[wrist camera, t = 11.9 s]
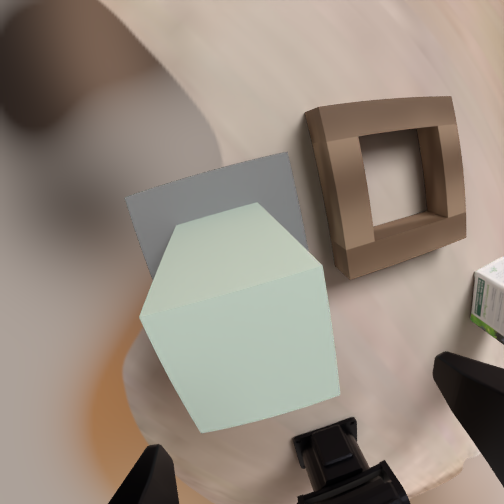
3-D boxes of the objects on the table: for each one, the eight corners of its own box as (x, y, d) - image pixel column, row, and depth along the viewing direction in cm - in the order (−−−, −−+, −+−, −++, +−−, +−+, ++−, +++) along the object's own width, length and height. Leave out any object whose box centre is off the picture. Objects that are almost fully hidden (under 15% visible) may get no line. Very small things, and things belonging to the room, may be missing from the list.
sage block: (275, 277, 20) (340, 394, 10) (200, 298, 20) (201, 433, 9) (257, 202, 18) (322, 265, 8) (176, 225, 18) (139, 317, 8)
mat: (314, 296, 21) (317, 299, 21) (177, 334, 21) (176, 338, 20) (285, 152, 18) (287, 151, 18) (126, 196, 18) (124, 197, 17)
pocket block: (446, 229, 22) (466, 237, 19) (335, 266, 21) (350, 280, 19) (429, 99, 18) (451, 96, 16) (304, 112, 18) (318, 106, 15)
